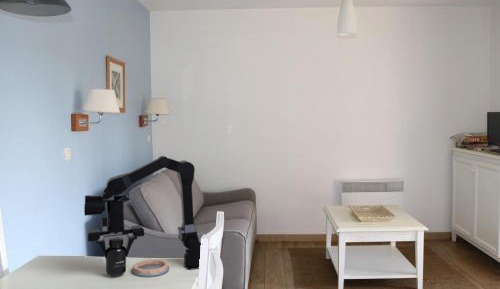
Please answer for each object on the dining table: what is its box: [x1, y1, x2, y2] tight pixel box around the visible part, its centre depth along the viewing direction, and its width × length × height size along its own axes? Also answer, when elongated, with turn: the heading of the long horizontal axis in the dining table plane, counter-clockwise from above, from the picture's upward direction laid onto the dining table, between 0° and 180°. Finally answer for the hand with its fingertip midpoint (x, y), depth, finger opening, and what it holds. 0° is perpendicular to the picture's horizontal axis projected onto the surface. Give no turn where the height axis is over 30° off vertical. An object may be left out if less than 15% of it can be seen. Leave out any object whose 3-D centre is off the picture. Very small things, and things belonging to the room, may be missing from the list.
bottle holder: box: [132, 258, 170, 278], centre depth 157 cm, size 13×13×2 cm
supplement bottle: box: [105, 236, 127, 276], centre depth 152 cm, size 7×7×12 cm
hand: (116, 257), depth 152 cm, fingers closed on supplement bottle, 7 cm apart
